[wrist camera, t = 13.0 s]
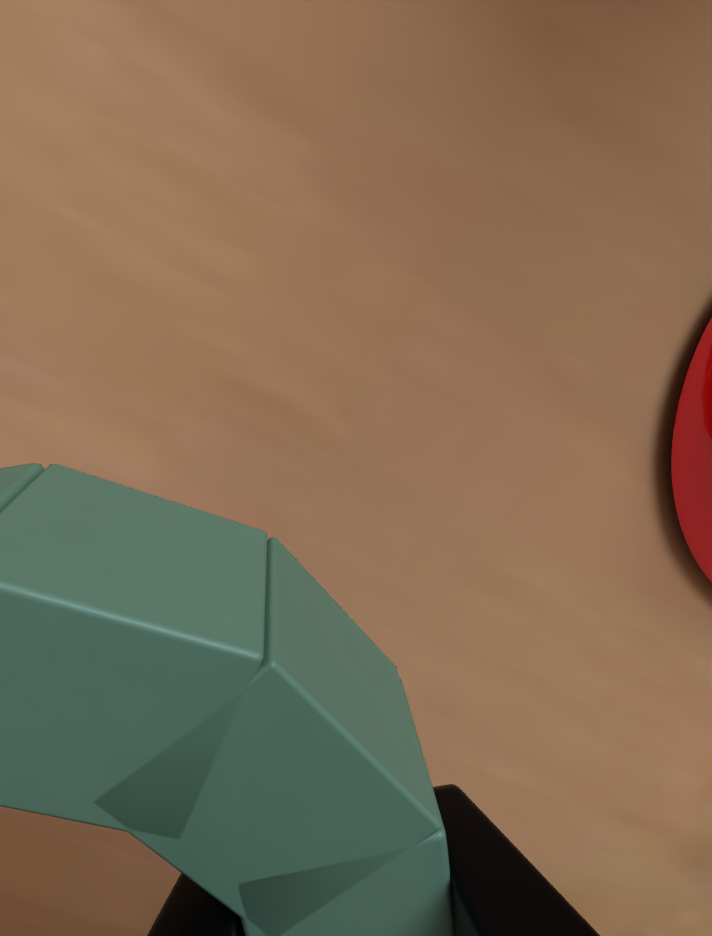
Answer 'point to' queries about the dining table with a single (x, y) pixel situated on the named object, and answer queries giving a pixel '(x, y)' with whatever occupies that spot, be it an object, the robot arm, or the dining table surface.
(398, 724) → the sage ring
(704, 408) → the hamburger
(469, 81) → the dining table surface
